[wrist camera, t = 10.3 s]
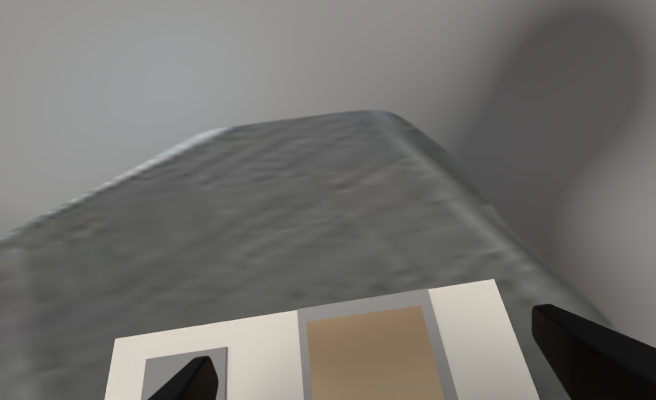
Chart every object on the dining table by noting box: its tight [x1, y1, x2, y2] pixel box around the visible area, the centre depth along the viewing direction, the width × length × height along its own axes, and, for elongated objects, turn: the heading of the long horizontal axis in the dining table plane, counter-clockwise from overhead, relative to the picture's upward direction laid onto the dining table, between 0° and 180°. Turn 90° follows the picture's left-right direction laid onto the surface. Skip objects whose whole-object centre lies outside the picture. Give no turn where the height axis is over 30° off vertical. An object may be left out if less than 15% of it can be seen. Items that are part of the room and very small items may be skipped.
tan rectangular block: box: [306, 305, 445, 400], centre depth 13 cm, size 4×3×10 cm
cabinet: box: [105, 279, 540, 400], centre depth 17 cm, size 9×24×4 cm, turn 98°
